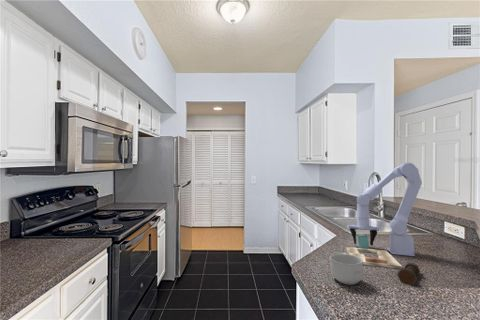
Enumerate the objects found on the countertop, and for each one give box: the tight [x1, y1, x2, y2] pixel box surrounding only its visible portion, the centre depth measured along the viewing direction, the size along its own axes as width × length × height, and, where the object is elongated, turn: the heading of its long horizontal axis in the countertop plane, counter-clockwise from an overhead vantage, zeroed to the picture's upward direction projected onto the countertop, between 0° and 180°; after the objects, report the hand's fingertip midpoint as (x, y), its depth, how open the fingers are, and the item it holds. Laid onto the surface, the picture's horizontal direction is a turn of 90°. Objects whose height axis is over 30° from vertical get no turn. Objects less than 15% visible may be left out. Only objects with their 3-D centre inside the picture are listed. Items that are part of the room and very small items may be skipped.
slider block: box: [357, 234, 370, 249], centre depth 123 cm, size 4×5×6 cm
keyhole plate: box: [345, 246, 403, 270], centre depth 108 cm, size 18×20×2 cm
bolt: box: [396, 262, 421, 286], centre depth 88 cm, size 6×5×15 cm
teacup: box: [329, 252, 364, 286], centre depth 86 cm, size 14×11×8 cm
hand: (363, 244), depth 123 cm, fingers open, 7 cm apart
